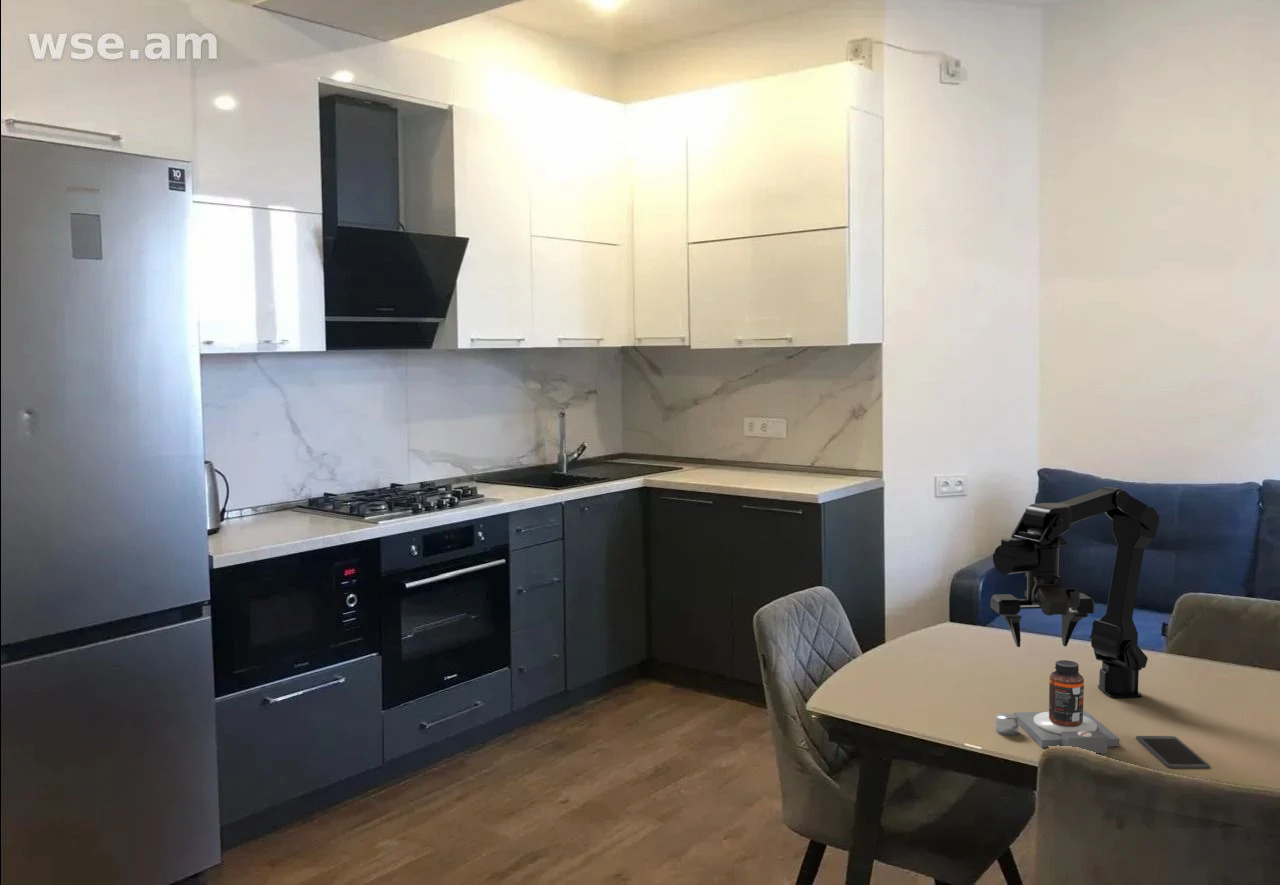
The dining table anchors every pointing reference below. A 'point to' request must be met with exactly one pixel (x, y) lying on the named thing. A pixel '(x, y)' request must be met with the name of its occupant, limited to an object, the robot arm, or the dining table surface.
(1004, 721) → the shiny metal cylinder
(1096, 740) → the scale
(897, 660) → the dining table surface
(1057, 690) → the supplement bottle
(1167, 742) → the cell phone
